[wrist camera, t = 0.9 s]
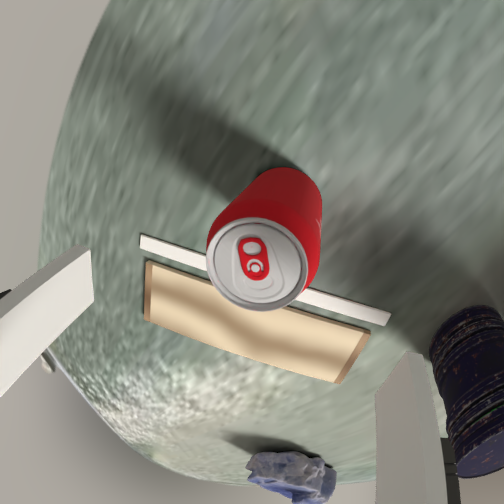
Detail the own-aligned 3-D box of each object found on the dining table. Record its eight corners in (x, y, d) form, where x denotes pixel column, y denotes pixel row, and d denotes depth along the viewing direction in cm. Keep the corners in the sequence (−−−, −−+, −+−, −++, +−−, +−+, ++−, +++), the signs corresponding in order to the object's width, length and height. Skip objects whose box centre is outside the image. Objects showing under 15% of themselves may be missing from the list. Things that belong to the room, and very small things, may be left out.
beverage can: (255, 238, 28) (209, 319, 18) (243, 170, 26) (182, 215, 15) (325, 234, 26) (321, 319, 16) (318, 162, 24) (312, 202, 13)
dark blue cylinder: (410, 353, 30) (430, 473, 16) (472, 288, 25) (532, 402, 12) (460, 381, 30) (484, 482, 17) (515, 327, 25) (564, 424, 12)
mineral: (340, 507, 33) (296, 520, 38) (346, 463, 42) (305, 480, 46) (270, 473, 34) (229, 487, 38) (285, 425, 42) (246, 445, 46)
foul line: (142, 234, 31) (140, 235, 30) (390, 312, 28) (391, 314, 28) (141, 246, 31) (140, 248, 31) (384, 324, 29) (384, 326, 29)
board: (148, 260, 32) (146, 262, 31) (370, 331, 29) (370, 335, 29) (146, 316, 36) (144, 319, 35) (340, 380, 33) (339, 384, 33)
